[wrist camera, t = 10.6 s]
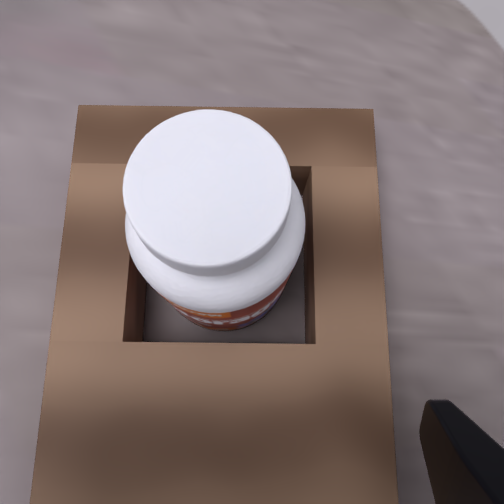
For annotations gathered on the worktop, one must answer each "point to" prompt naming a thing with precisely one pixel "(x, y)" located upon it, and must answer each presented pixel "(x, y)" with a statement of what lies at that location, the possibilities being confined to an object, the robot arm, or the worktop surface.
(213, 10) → the worktop surface
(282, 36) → the worktop surface
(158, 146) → the pill bottle
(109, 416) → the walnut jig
